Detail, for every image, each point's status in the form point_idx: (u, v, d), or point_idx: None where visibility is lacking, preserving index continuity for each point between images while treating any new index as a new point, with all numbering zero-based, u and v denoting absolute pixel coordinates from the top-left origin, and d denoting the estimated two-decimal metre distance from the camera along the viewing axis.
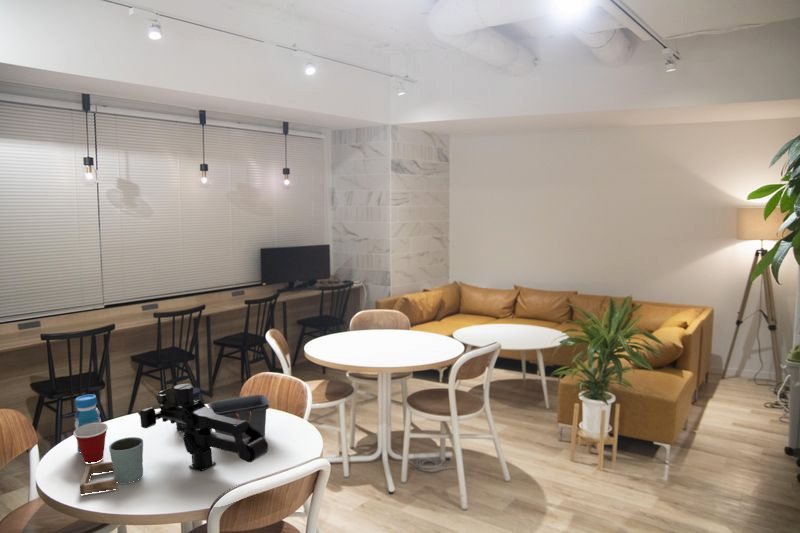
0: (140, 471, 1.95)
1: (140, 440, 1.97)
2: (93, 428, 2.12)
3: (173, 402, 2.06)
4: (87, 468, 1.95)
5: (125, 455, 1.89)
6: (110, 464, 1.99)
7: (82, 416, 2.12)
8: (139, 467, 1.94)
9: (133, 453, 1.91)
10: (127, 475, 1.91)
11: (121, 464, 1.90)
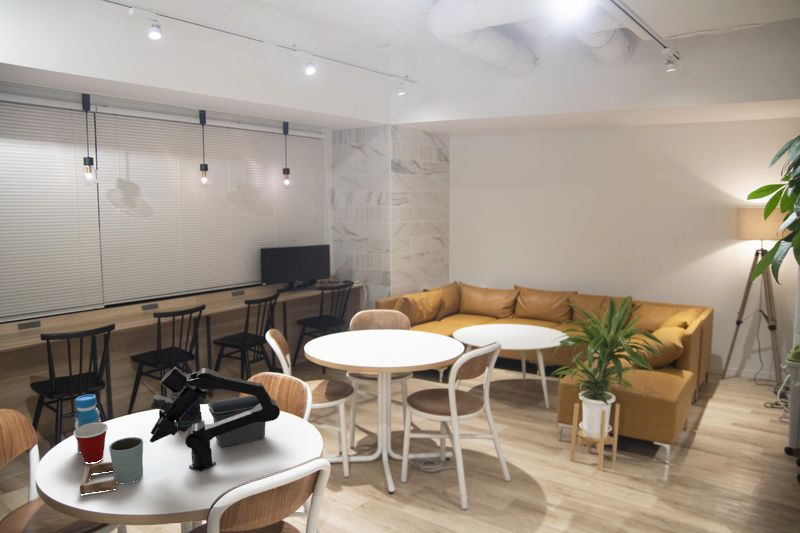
0: (140, 471, 1.95)
1: (140, 440, 1.97)
2: (93, 428, 2.12)
3: (170, 400, 1.97)
4: (87, 468, 1.95)
5: (125, 455, 1.89)
6: (110, 464, 1.99)
7: (82, 416, 2.12)
8: (139, 467, 1.94)
9: (133, 453, 1.91)
10: (127, 475, 1.91)
11: (121, 464, 1.90)
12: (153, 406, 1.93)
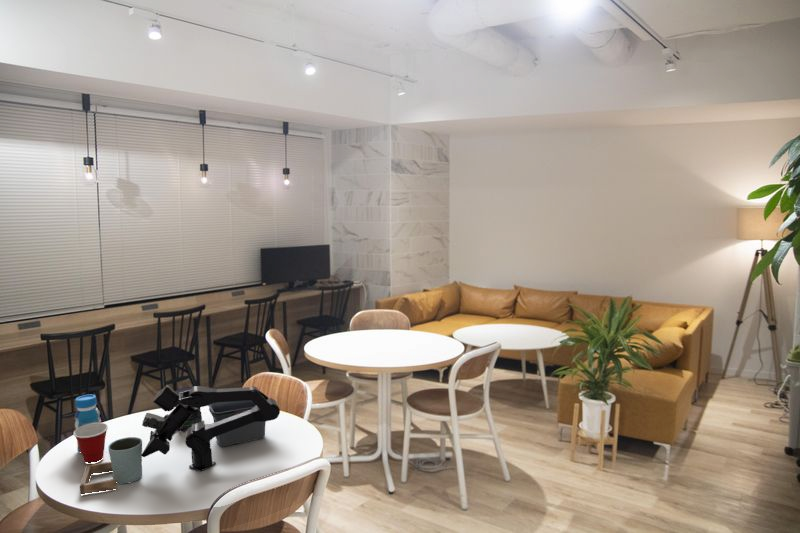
0: (140, 471, 1.95)
1: (139, 440, 1.97)
2: (93, 428, 2.12)
3: (162, 419, 1.97)
4: (87, 468, 1.95)
5: (124, 455, 1.89)
6: (110, 464, 1.99)
7: (82, 416, 2.12)
8: (138, 467, 1.94)
9: (132, 453, 1.91)
10: (126, 475, 1.91)
11: (120, 464, 1.90)
12: (145, 425, 1.93)
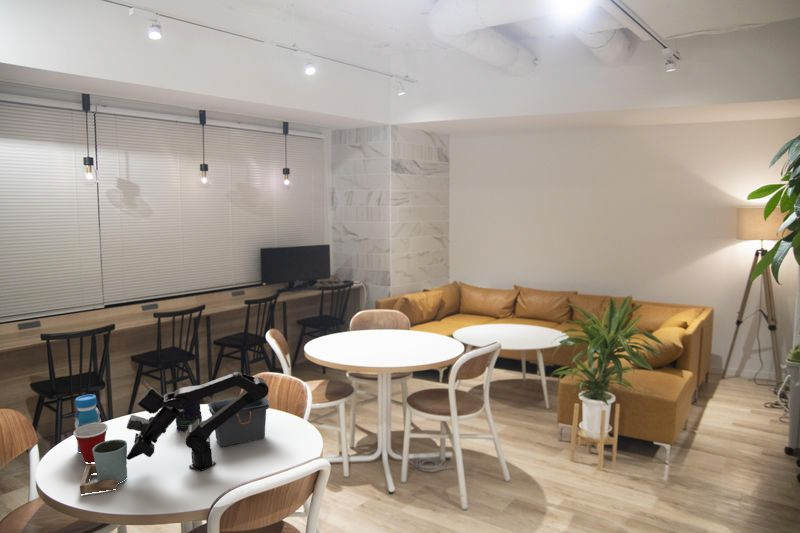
0: (124, 474, 1.93)
1: (124, 442, 1.95)
2: (93, 428, 2.12)
3: (146, 421, 1.95)
4: (87, 468, 1.95)
5: (108, 458, 1.88)
6: None
7: (82, 416, 2.12)
8: (123, 470, 1.92)
9: (116, 456, 1.89)
10: (110, 478, 1.89)
11: (104, 467, 1.88)
12: (129, 427, 1.91)
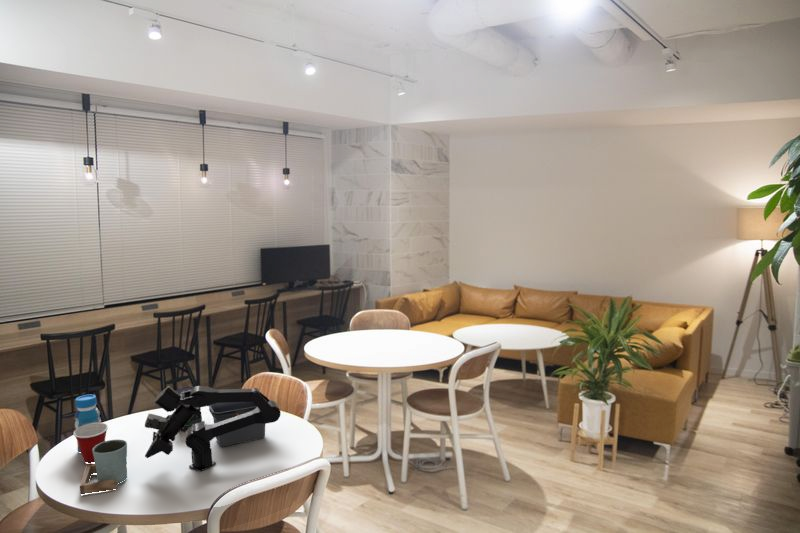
0: (124, 474, 1.93)
1: (124, 442, 1.95)
2: (93, 428, 2.12)
3: (164, 419, 1.97)
4: (87, 468, 1.95)
5: (108, 458, 1.88)
6: None
7: (82, 416, 2.12)
8: (123, 470, 1.92)
9: (116, 456, 1.89)
10: (110, 478, 1.89)
11: (104, 467, 1.88)
12: (147, 426, 1.93)
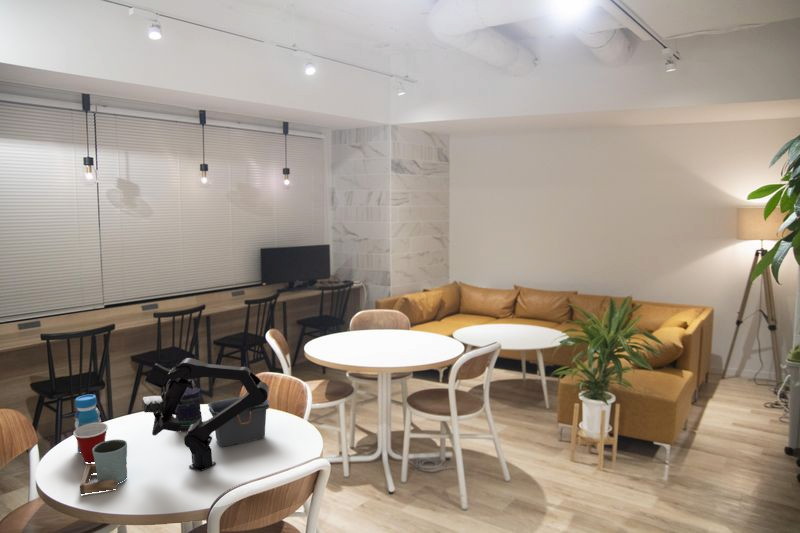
0: (124, 474, 1.93)
1: (124, 442, 1.95)
2: (93, 428, 2.12)
3: (160, 398, 1.97)
4: (87, 468, 1.95)
5: (108, 458, 1.88)
6: None
7: (82, 416, 2.12)
8: (123, 470, 1.92)
9: (116, 456, 1.89)
10: (110, 478, 1.89)
11: (104, 467, 1.88)
12: (147, 411, 1.93)
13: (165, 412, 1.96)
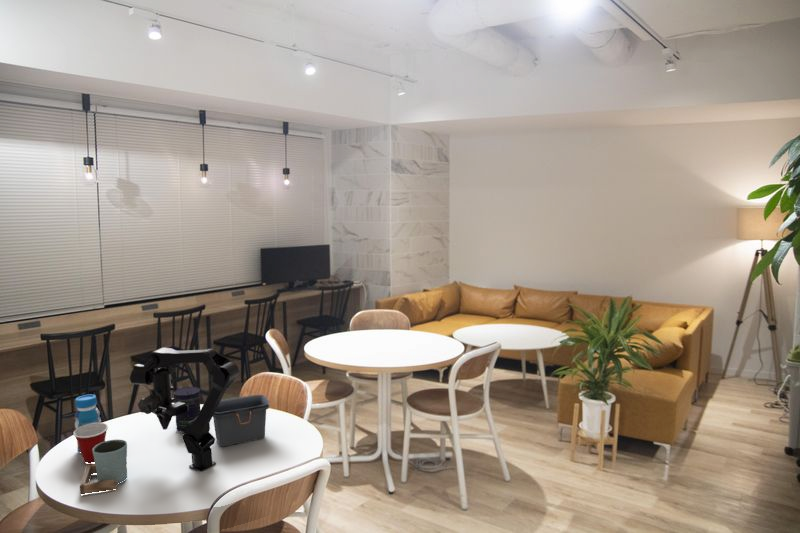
0: (124, 474, 1.93)
1: (124, 442, 1.95)
2: (93, 428, 2.12)
3: (153, 396, 2.00)
4: (87, 468, 1.95)
5: (108, 458, 1.88)
6: None
7: (82, 416, 2.12)
8: (123, 470, 1.92)
9: (116, 456, 1.89)
10: (110, 478, 1.89)
11: (104, 467, 1.88)
12: (150, 411, 1.96)
13: (165, 403, 2.01)
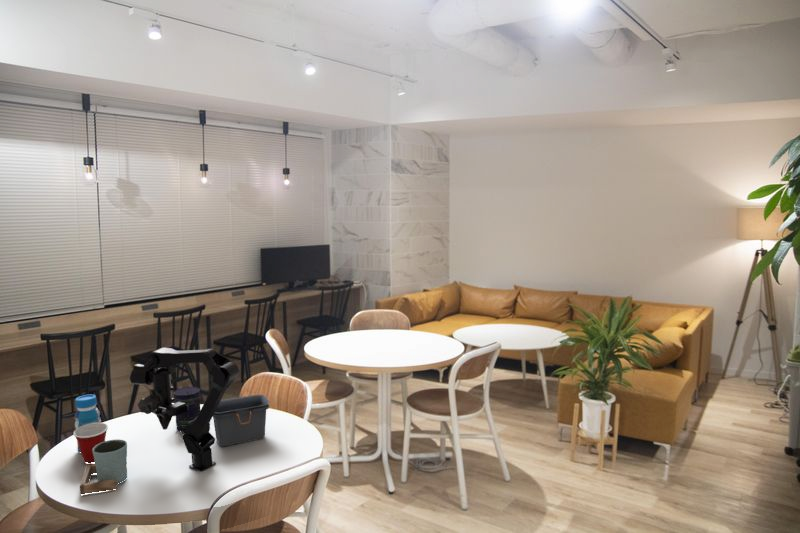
0: (124, 474, 1.93)
1: (124, 442, 1.95)
2: (93, 428, 2.12)
3: (153, 396, 2.00)
4: (87, 468, 1.95)
5: (108, 458, 1.88)
6: None
7: (82, 416, 2.12)
8: (123, 470, 1.92)
9: (116, 456, 1.89)
10: (110, 478, 1.89)
11: (104, 467, 1.88)
12: (150, 411, 1.96)
13: (165, 403, 2.01)
